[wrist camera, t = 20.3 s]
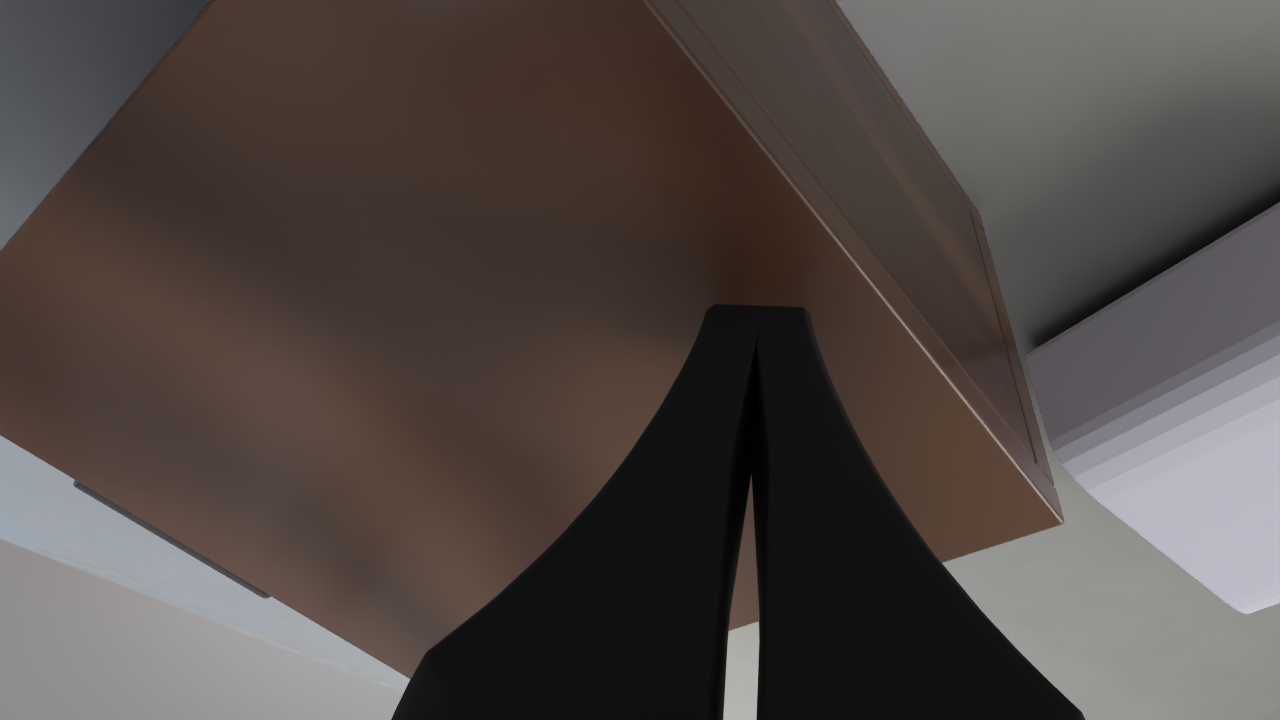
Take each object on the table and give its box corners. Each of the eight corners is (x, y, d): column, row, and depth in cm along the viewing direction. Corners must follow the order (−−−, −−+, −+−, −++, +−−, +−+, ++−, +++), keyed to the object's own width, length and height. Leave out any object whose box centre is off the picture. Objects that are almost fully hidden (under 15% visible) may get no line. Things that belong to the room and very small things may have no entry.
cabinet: (543, 442, 30) (468, 714, 23) (160, 125, 24) (-105, 375, 17) (980, 215, 22) (1066, 524, 15) (593, -358, 16) (435, -268, 9)
